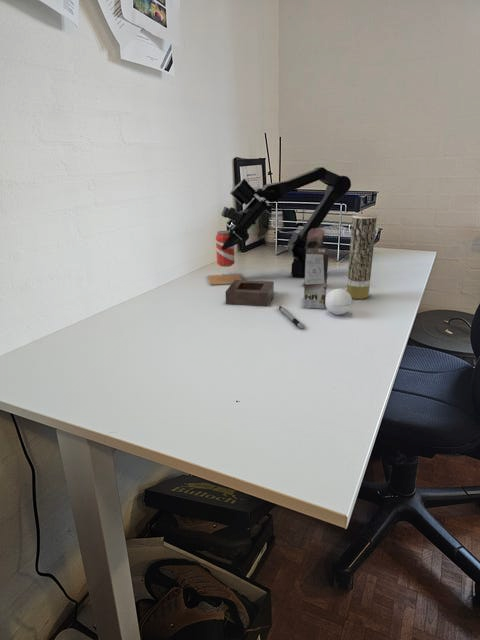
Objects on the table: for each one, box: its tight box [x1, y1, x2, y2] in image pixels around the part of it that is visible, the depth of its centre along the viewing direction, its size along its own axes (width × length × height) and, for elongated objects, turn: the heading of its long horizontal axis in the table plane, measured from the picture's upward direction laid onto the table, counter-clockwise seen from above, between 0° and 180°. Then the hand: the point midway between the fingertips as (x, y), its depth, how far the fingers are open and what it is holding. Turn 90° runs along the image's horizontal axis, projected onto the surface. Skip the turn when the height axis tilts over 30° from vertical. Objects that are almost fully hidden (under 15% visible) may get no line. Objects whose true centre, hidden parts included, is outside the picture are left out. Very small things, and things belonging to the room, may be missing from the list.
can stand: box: [225, 279, 275, 307], centre depth 126 cm, size 13×13×4 cm
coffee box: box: [302, 247, 330, 310], centre depth 118 cm, size 9×6×16 cm
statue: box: [302, 227, 325, 287], centre depth 134 cm, size 7×7×20 cm
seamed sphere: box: [325, 287, 362, 316], centre depth 111 cm, size 10×7×7 cm
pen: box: [278, 305, 304, 329], centre depth 109 cm, size 1×16×1 cm, turn 15°
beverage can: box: [215, 230, 236, 268], centre depth 143 cm, size 6×6×12 cm
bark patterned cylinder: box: [346, 213, 378, 300], centre depth 122 cm, size 7×7×25 cm
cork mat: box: [208, 273, 244, 286], centre depth 147 cm, size 12×12×1 cm
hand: (221, 247), depth 143 cm, fingers closed on beverage can, 6 cm apart
